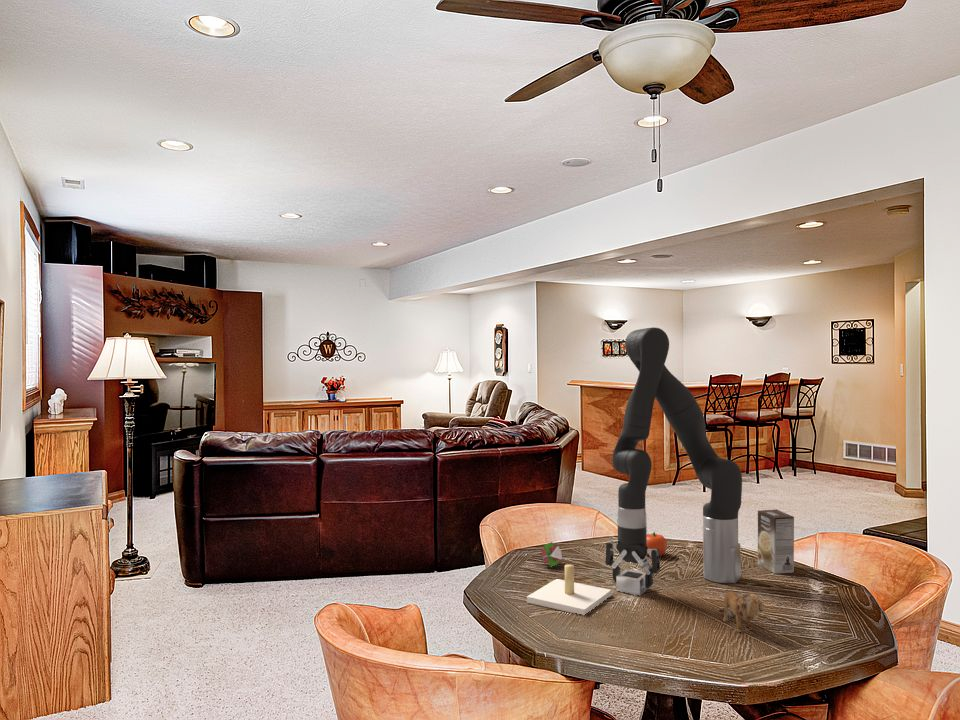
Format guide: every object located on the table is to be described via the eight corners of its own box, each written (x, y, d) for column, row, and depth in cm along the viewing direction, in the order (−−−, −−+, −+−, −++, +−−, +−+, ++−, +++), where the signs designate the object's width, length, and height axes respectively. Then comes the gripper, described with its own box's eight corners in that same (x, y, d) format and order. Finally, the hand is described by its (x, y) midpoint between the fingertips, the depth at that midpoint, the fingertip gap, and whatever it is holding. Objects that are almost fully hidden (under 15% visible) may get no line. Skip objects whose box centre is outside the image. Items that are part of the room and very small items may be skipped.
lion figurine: (768, 636, 149) (768, 596, 149) (747, 639, 148) (747, 598, 148) (728, 612, 164) (728, 575, 164) (708, 614, 162) (708, 577, 162)
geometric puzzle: (530, 557, 202) (542, 538, 199) (544, 552, 207) (556, 533, 204) (545, 575, 199) (558, 557, 195) (559, 570, 204) (572, 552, 200)
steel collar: (648, 588, 181) (648, 573, 181) (639, 595, 175) (639, 580, 175) (625, 584, 184) (625, 569, 184) (616, 591, 179) (616, 576, 179)
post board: (611, 595, 176) (611, 562, 176) (584, 615, 162) (584, 580, 162) (556, 584, 185) (556, 553, 185) (526, 602, 171) (526, 568, 171)
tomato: (666, 559, 206) (666, 535, 206) (639, 557, 208) (639, 533, 208) (668, 552, 213) (667, 529, 213) (642, 550, 215) (641, 527, 215)
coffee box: (756, 564, 200) (756, 509, 200) (776, 563, 201) (776, 509, 201) (774, 574, 191) (774, 517, 191) (795, 572, 192) (795, 516, 192)
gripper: (663, 524, 179) (663, 585, 179) (612, 517, 187) (612, 576, 187) (653, 530, 173) (653, 594, 173) (601, 523, 181) (601, 583, 181)
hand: (632, 584), depth 180 cm, fingers open, 8 cm apart
